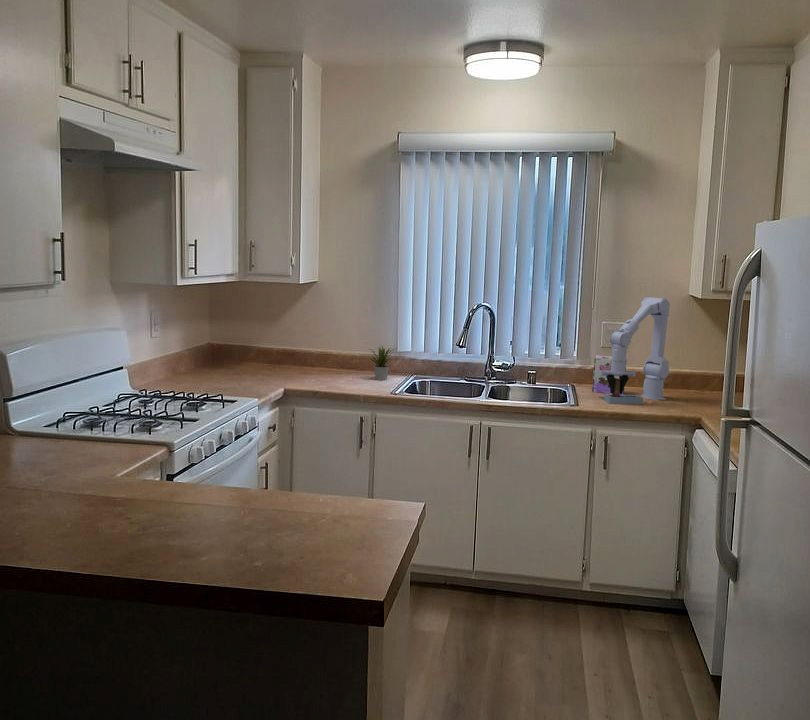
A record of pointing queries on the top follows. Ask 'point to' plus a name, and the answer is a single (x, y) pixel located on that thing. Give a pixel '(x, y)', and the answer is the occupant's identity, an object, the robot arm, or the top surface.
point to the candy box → (601, 381)
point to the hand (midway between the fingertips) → (616, 393)
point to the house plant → (381, 364)
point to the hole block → (623, 399)
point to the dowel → (617, 388)
